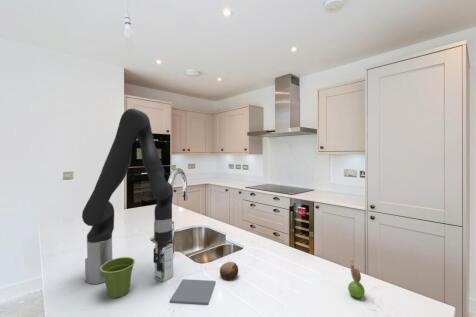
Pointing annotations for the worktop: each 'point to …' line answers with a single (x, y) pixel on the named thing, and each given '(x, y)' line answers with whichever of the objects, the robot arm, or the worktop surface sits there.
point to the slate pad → (193, 292)
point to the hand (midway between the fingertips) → (163, 266)
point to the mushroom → (229, 270)
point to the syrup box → (165, 264)
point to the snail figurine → (356, 283)
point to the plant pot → (118, 276)
